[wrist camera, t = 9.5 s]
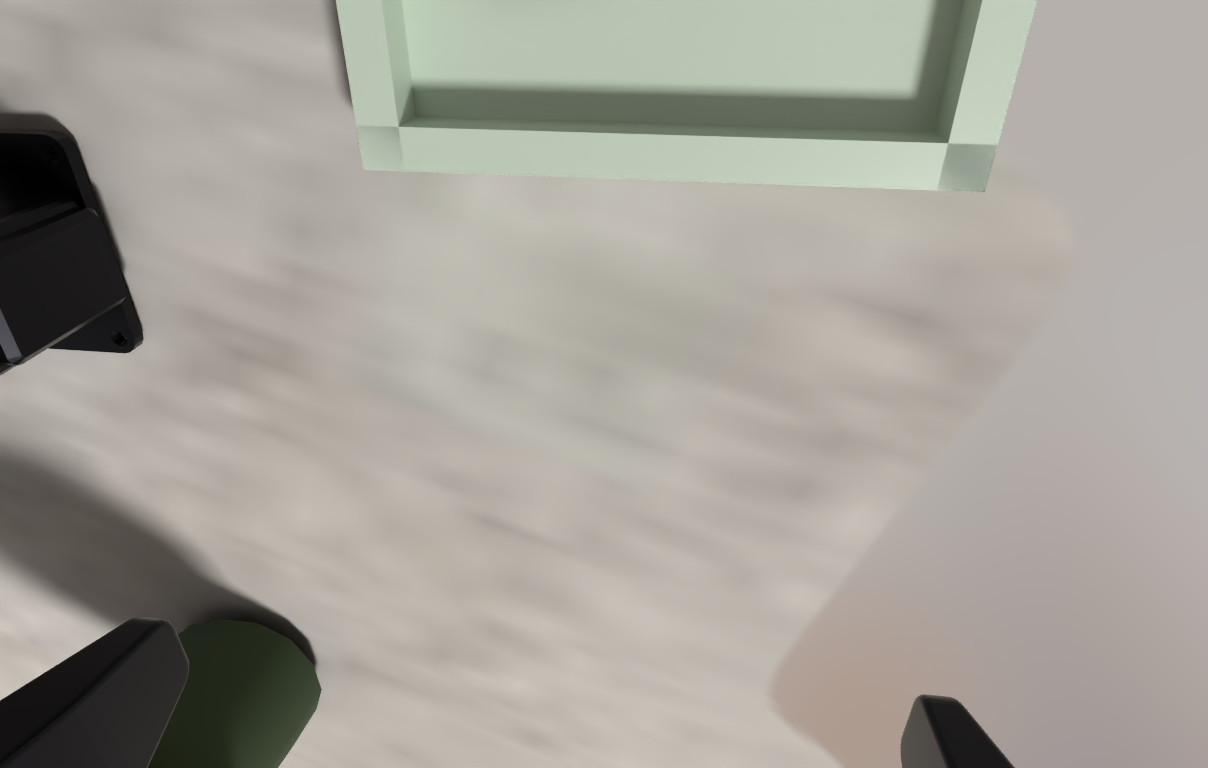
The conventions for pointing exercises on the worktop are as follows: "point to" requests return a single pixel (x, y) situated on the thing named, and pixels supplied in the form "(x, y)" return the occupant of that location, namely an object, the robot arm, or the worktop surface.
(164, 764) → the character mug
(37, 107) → the worktop surface
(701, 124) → the tray
